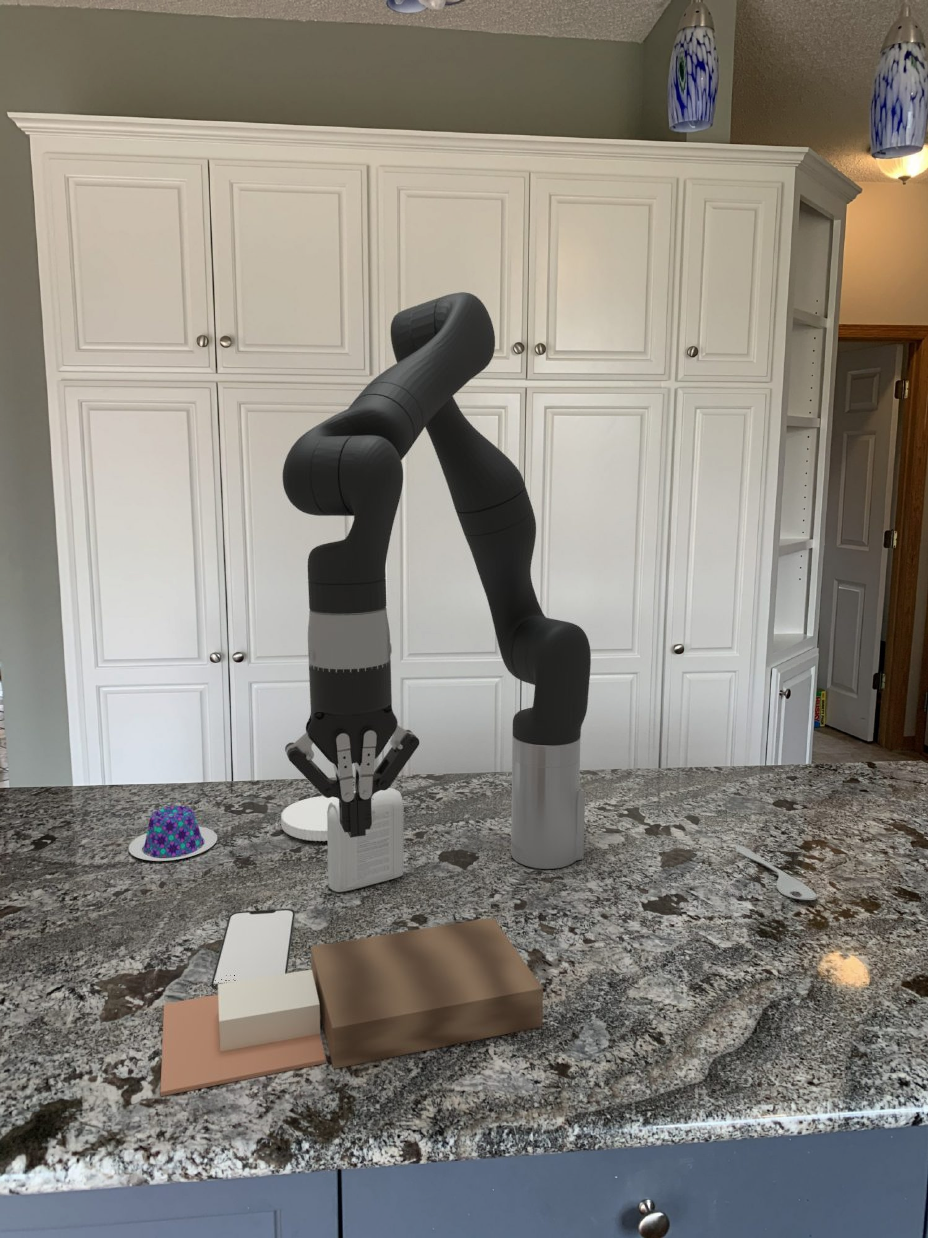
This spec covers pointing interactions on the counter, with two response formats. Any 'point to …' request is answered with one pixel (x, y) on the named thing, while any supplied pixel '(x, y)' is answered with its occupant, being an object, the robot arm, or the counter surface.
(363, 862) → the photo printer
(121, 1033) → the counter surface
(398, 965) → the deck
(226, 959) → the smartphone
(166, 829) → the purple patterned hat
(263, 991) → the cream brick
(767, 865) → the spoon
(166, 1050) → the mat
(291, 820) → the plastic lid
